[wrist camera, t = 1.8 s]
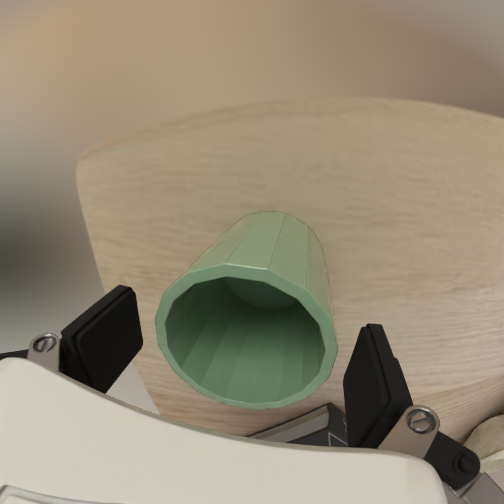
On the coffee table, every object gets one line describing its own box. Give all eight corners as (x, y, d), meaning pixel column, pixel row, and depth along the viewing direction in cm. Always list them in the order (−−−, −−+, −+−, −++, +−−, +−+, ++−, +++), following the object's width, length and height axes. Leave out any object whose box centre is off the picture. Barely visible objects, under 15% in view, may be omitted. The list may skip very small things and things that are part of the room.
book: (416, 461, 23) (419, 477, 20) (327, 493, 28) (326, 508, 25) (332, 399, 20) (333, 426, 17) (222, 443, 26) (215, 463, 23)
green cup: (220, 205, 17) (147, 251, 9) (332, 218, 16) (358, 280, 8) (217, 302, 19) (166, 389, 11) (314, 316, 18) (313, 417, 10)
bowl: (418, 447, 22) (429, 512, 12) (510, 374, 16) (543, 436, 7) (458, 460, 22) (469, 507, 13) (528, 404, 17) (549, 449, 8)
